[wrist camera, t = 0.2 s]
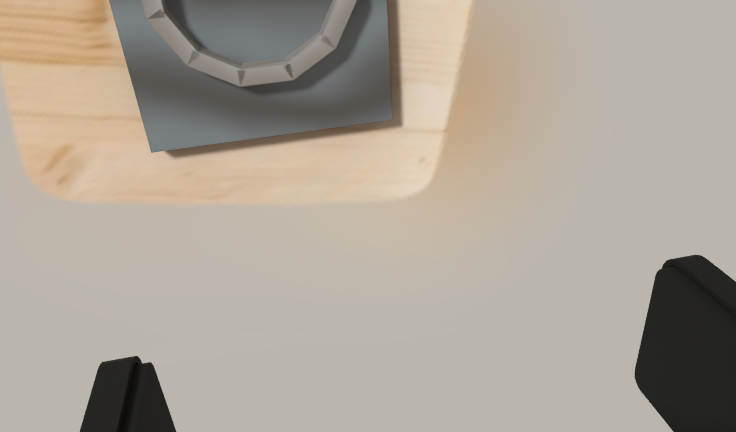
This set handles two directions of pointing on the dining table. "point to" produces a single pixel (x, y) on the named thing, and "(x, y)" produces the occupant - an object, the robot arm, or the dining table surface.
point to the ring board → (254, 67)
